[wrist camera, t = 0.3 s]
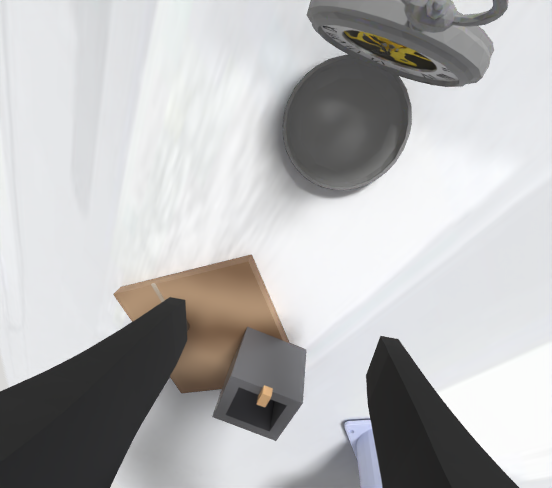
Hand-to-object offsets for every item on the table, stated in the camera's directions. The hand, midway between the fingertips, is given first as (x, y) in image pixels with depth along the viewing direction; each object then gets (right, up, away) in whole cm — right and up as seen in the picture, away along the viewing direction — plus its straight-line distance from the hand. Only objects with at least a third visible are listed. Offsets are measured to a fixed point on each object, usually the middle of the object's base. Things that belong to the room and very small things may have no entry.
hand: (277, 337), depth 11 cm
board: (-5, -4, +14) cm, 15 cm away
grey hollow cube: (-1, -6, +13) cm, 14 cm away
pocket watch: (+4, +11, +5) cm, 13 cm away
